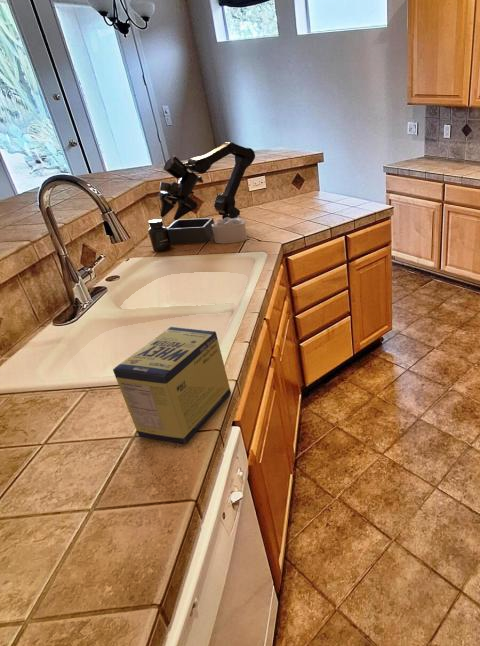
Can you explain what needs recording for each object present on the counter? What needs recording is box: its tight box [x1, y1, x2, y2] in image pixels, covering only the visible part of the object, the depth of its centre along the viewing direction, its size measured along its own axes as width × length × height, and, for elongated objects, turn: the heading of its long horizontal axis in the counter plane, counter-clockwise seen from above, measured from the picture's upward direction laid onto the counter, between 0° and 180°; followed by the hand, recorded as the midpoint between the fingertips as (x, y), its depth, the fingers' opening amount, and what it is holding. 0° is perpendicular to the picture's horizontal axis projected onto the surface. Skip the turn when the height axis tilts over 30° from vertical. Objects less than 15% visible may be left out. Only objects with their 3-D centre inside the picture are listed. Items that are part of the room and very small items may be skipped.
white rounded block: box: [212, 217, 248, 244], centre depth 183 cm, size 10×13×9 cm
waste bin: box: [166, 217, 215, 245], centre depth 186 cm, size 16×15×7 cm
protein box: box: [112, 326, 232, 445], centre depth 82 cm, size 10×16×16 cm
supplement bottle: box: [147, 219, 173, 253], centre depth 172 cm, size 7×7×12 cm
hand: (168, 218), depth 173 cm, fingers open, 9 cm apart
